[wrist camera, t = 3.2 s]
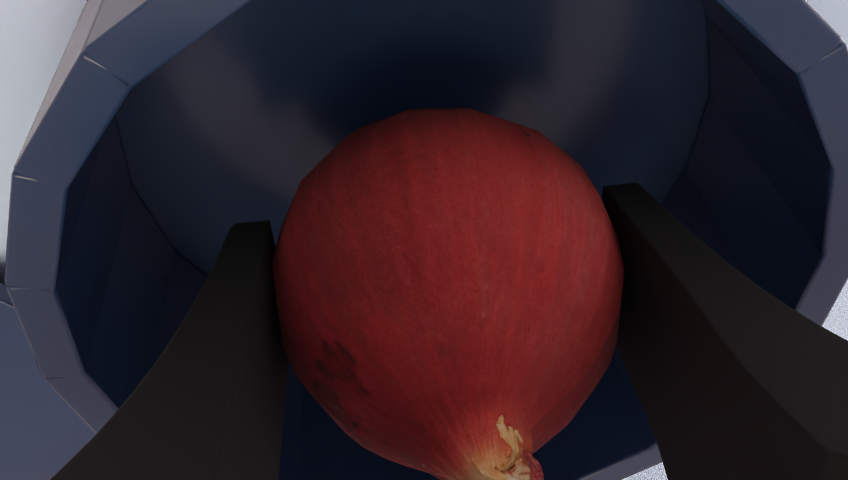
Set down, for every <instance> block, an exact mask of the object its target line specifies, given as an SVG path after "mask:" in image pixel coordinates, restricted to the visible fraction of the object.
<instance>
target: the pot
mask: <svg viewBox="0 0 848 480" xmlns="http://www.w3.org/2000/svg"><path fill="white" fill-rule="evenodd" d="M420 108H469V109H473V110H477V111H480V112H483V113H486V114H489V115H492V116H496V117H499V118H502V119H505V120H508V121H511V122H514V123H518V124H520V125H523V126H526V127H529V128H531V129H534V130H537V131H539V132H540V133H542V134H543V135H544V136H545V137H547V138H548V139H549V140H550V141H552V142H553V143H554V144H555V145H556V146H558V147H559V148H560V149H561V150H563V151H564V152H565V153H566V154H568V155H569V156H570V157H571V158H573V159H574V160H575V161H576V162H578V163H579V164H580V165H581V166H582V168H583V169H584V171H585V172H586V174H587V176H588V177H589V179H590V180H591V182H592V184H593V185H594V187H595V188H596V190H597V192H598V193H599V195H600V198H601V199H602V192H603V186H607V185H617V184H627V183H638V184H639V185H640V186H641V187H643V188H644V189H645V190H646V191H647V192H648V193H649V194H650V195H651V196H652V197H653V198H655V199H656V200H657V201H658V202H659V203H660V204H661V205H662V206H663V207H664V208H666V209H667V210H668V211H669V212H670V213H671V214H672V215H673V216H674V217H675V218H677V219H678V220H679V221H680V222H681V223H682V224H683V225H684V226H685V227H687V228H688V229H689V230H690V231H691V232H692V233H693V234H694V235H696V236H697V237H698V238H699V239H700V240H701V241H703V242H704V243H705V244H706V245H707V246H708V247H710V248H711V249H712V250H713V251H714V252H716V253H717V254H718V255H719V256H720V257H722V258H723V259H724V260H725V261H727V262H728V263H729V264H731V265H732V266H733V267H734V268H736V269H737V270H738V271H740V272H741V273H742V274H744V275H745V276H746V277H748V278H749V279H750V280H752V281H753V282H754V283H756V284H757V285H758V286H760V287H761V288H762V289H764V290H765V291H767V292H768V293H770V294H771V295H772V296H774V297H775V298H777V299H778V300H780V301H781V302H783V303H785V304H786V305H788V306H789V307H791V308H792V309H794V310H796V311H797V312H799V313H800V314H802V315H803V316H805V317H806V318H808V319H810V320H811V321H813V322H815V323H816V324H818V325H820V326H822V325H823V323H824V321H825V320H826V318H827V316H828V314H829V312H830V310H831V309H832V307H833V305H834V303H835V301H836V299H837V298H838V296H839V294H840V292H841V290H842V288H843V287H844V285H845V283H846V281H847V279H848V50H847V47H846V44H845V43H844V42H843V41H842V40H841V38H840V36H839V35H838V34H837V33H836V32H835V31H834V30H833V29H832V28H831V27H830V26H829V25H828V24H827V23H826V22H825V21H824V20H823V18H822V17H821V16H820V15H819V14H818V13H817V12H816V11H815V10H814V9H813V8H812V7H811V6H810V5H809V4H808V3H807V2H806V1H805V0H87V2H86V4H85V6H84V9H83V11H82V13H81V16H80V18H79V20H78V22H77V25H76V27H75V29H74V32H73V34H72V36H71V38H70V41H69V43H68V45H67V47H66V50H65V52H64V54H63V57H62V59H61V61H60V63H59V66H58V68H57V70H56V72H55V75H54V77H53V79H52V82H51V84H50V86H49V88H48V91H47V93H46V95H45V97H44V100H43V102H42V104H41V107H40V109H39V111H38V113H37V116H36V118H35V120H34V122H33V125H32V127H31V129H30V132H29V134H28V136H27V138H26V141H25V143H24V145H23V147H22V150H21V152H20V154H19V157H18V159H17V161H16V163H15V166H14V170H13V172H12V177H11V192H10V206H9V220H8V235H7V249H6V264H5V278H4V282H5V285H6V289H7V292H8V294H9V297H10V299H11V301H12V304H13V306H14V309H15V311H16V314H17V316H18V319H19V321H20V324H21V326H22V328H23V331H24V333H25V336H26V338H27V341H28V343H29V346H30V348H31V350H32V353H33V355H34V358H35V360H36V363H37V365H38V368H39V370H40V373H41V375H42V377H44V378H45V381H46V383H47V384H48V385H49V386H50V387H51V388H52V389H53V390H54V391H55V392H56V393H57V394H58V395H59V396H60V397H61V398H62V399H63V400H64V401H65V402H66V403H67V404H68V405H69V406H70V407H71V408H72V409H73V410H74V411H75V412H76V414H77V415H78V416H79V417H80V418H81V419H82V420H83V421H84V422H85V423H86V424H87V425H88V426H89V427H90V428H91V429H92V430H93V431H94V432H95V433H96V434H97V433H98V432H99V430H100V429H101V428H102V427H103V426H104V425H105V424H106V423H107V422H108V420H109V419H110V418H111V417H112V416H113V415H114V413H115V412H116V411H117V410H118V409H119V408H120V406H121V405H122V404H123V403H124V402H125V401H126V400H127V398H128V397H129V396H130V395H131V394H132V392H133V391H134V390H135V388H136V387H137V386H138V385H139V383H140V382H141V381H142V379H143V378H144V377H145V376H146V374H147V373H148V372H149V370H150V369H151V367H152V366H153V365H154V363H155V362H156V361H157V359H158V358H159V356H160V355H161V353H162V352H163V351H164V349H165V347H166V346H167V344H168V343H169V341H170V340H171V338H172V337H173V335H174V333H175V332H176V330H177V329H178V327H179V326H180V324H181V323H182V321H183V319H184V318H185V316H186V314H187V313H188V311H189V309H190V308H191V306H192V304H193V302H194V300H195V299H196V297H197V295H198V293H199V291H200V290H201V288H202V286H203V284H204V282H205V281H206V279H207V277H208V275H209V273H210V271H211V269H212V267H213V265H214V263H215V261H216V259H217V256H218V254H219V252H220V250H221V248H222V245H223V243H224V241H225V239H226V236H227V234H228V231H229V229H230V228H231V227H232V226H233V225H234V224H235V223H245V222H255V221H265V220H270V223H271V228H272V233H273V237H274V242H275V247H276V244H277V240H278V237H279V233H280V229H281V226H282V224H283V221H284V219H285V217H286V214H287V212H288V210H289V207H290V205H291V203H292V200H293V198H294V196H295V193H296V191H297V189H298V186H299V184H300V181H301V180H302V179H303V178H304V177H305V176H306V175H307V174H308V173H309V172H310V171H311V170H312V169H313V168H314V167H315V166H316V165H317V164H318V163H319V162H320V161H321V160H322V159H323V158H324V157H325V156H326V155H327V154H329V153H330V152H331V151H332V150H333V149H334V148H335V147H336V146H337V145H338V144H339V143H340V142H341V141H342V140H343V139H345V138H346V137H347V136H349V135H350V134H351V133H353V132H354V131H355V130H357V129H358V128H359V127H362V126H365V125H367V124H370V123H373V122H376V121H378V120H381V119H384V118H387V117H389V116H392V115H395V114H397V113H400V112H403V111H406V110H408V109H420ZM532 457H534V458H535V459H536V460H538V462H539V464H540V465H541V468H542V470H543V477H544V480H622V479H624V478H626V477H629V476H631V475H633V474H636V473H638V472H640V471H643V470H645V469H647V468H650V467H652V466H654V465H657V464H659V463H661V462H663V461H662V458H661V455H660V452H659V448H658V445H657V442H656V439H655V436H654V434H653V431H652V428H651V426H650V423H649V420H648V418H647V415H646V413H645V411H644V409H643V406H642V404H641V402H640V399H639V397H638V395H637V392H636V390H635V388H634V385H633V383H632V381H631V378H630V376H629V374H628V371H627V369H626V367H625V364H624V362H623V360H622V357H621V355H620V353H619V350H618V348H617V345H616V346H615V349H614V353H613V356H612V359H611V362H610V365H609V366H608V368H607V370H606V371H605V373H604V375H603V376H602V378H601V380H600V381H599V383H598V384H597V386H596V387H595V388H594V390H593V391H592V393H591V394H590V395H589V397H588V398H587V399H586V401H585V402H584V404H583V405H582V406H581V408H580V409H579V410H578V412H577V413H576V415H575V416H574V417H573V419H572V420H571V421H570V423H569V424H568V425H567V426H566V427H565V428H563V429H562V430H561V431H560V432H559V433H558V434H556V435H555V436H554V437H553V438H552V439H550V440H549V441H548V442H547V443H545V444H544V445H543V446H542V447H541V448H539V449H538V450H537V451H536V452H534V453H532ZM279 480H440V479H438V478H436V477H435V476H433V475H431V474H430V473H427V472H423V471H420V470H417V469H413V468H410V467H406V466H403V465H401V464H398V463H395V462H393V461H390V460H388V459H385V458H383V457H381V456H379V455H377V454H375V453H373V452H371V451H370V450H368V449H366V448H364V447H362V446H361V445H360V444H359V443H357V442H356V441H355V440H354V439H352V438H351V437H350V436H349V435H347V434H346V433H345V432H344V431H343V430H342V429H341V428H340V427H339V425H338V424H337V423H336V422H335V421H334V420H333V419H332V418H331V416H330V415H329V414H328V413H327V412H326V411H325V410H324V409H323V407H322V406H321V405H320V404H319V403H318V402H317V401H316V400H315V398H314V397H313V396H312V395H311V394H310V392H309V391H308V390H307V389H306V388H305V386H304V385H303V384H302V383H301V381H300V380H299V379H298V378H297V377H296V375H295V373H294V371H293V369H292V366H291V364H290V362H288V374H287V386H286V397H285V408H284V419H283V431H282V442H281V453H280V465H279Z"/></svg>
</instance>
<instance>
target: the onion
mask: <svg viewBox="0 0 848 480" xmlns="http://www.w3.org/2000/svg"><path fill="white" fill-rule="evenodd" d="M272 271H273V278H274V286H275V293H276V301H277V309H278V316H279V324H280V331H281V338H282V346H283V349H284V351H285V353H286V355H287V358H288V360H289V362H290V364H291V366H292V369H293V371H294V373H295V375H296V377H297V378H298V379H299V380H300V381H301V383H302V384H303V385H304V386H305V388H306V389H307V390H308V391H309V392H310V394H311V395H312V396H313V397H314V398H315V400H316V401H317V402H318V403H319V404H320V405H321V406H322V407H323V409H324V410H325V411H326V412H327V413H328V414H329V415H330V416H331V418H332V419H333V420H334V421H335V422H336V423H337V424H338V425H339V427H340V428H341V429H342V430H343V431H344V432H345V433H346V434H347V435H349V436H350V437H351V438H352V439H354V440H355V441H356V442H357V443H359V444H360V445H361V446H362V447H364V448H366V449H368V450H370V451H371V452H373V453H375V454H377V455H379V456H381V457H383V458H385V459H388V460H390V461H393V462H395V463H398V464H401V465H403V466H406V467H410V468H413V469H417V470H420V471H423V472H427V473H430V474H431V475H433V476H435V477H436V478H438V479H440V480H544V477H543V470H542V468H541V465H540V464H539V462H538V460H536V459H535V458H534V457H532V453H534V452H536V451H537V450H538V449H539V448H541V447H542V446H543V445H544V444H545V443H547V442H548V441H549V440H550V439H552V438H553V437H554V436H555V435H556V434H558V433H559V432H560V431H561V430H562V429H563V428H565V427H566V426H567V425H568V424H569V423H570V421H571V420H572V419H573V417H574V416H575V415H576V413H577V412H578V410H579V409H580V408H581V406H582V405H583V404H584V402H585V401H586V399H587V398H588V397H589V395H590V394H591V393H592V391H593V390H594V388H595V387H596V386H597V384H598V383H599V381H600V380H601V378H602V376H603V375H604V373H605V371H606V370H607V368H608V366H609V365H610V362H611V359H612V356H613V353H614V349H615V346H616V343H617V338H618V329H619V319H620V310H621V300H622V291H623V281H624V272H625V270H624V265H623V260H622V254H621V249H620V244H619V241H618V237H617V234H616V231H615V229H614V227H613V225H612V222H611V220H610V218H609V216H608V213H607V211H606V209H605V207H604V204H603V202H602V200H601V198H600V195H599V193H598V192H597V190H596V188H595V187H594V185H593V184H592V182H591V180H590V179H589V177H588V176H587V174H586V172H585V171H584V169H583V168H582V166H581V165H580V164H579V163H578V162H576V161H575V160H574V159H573V158H571V157H570V156H569V155H568V154H566V153H565V152H564V151H563V150H561V149H560V148H559V147H558V146H556V145H555V144H554V143H553V142H552V141H550V140H549V139H548V138H547V137H545V136H544V135H543V134H542V133H540V132H539V131H537V130H534V129H531V128H529V127H526V126H523V125H520V124H518V123H514V122H511V121H508V120H505V119H502V118H499V117H496V116H492V115H489V114H486V113H483V112H480V111H477V110H473V109H469V108H420V109H408V110H406V111H403V112H400V113H397V114H395V115H392V116H389V117H387V118H384V119H381V120H378V121H376V122H373V123H370V124H367V125H365V126H362V127H359V128H358V129H357V130H355V131H354V132H353V133H351V134H350V135H349V136H347V137H346V138H345V139H343V140H342V141H341V142H340V143H339V144H338V145H337V146H336V147H335V148H334V149H333V150H332V151H331V152H330V153H329V154H327V155H326V156H325V157H324V158H323V159H322V160H321V161H320V162H319V163H318V164H317V165H316V166H315V167H314V168H313V169H312V170H311V171H310V172H309V173H308V174H307V175H306V176H305V177H304V178H303V179H302V180H301V181H300V184H299V186H298V189H297V191H296V193H295V196H294V198H293V200H292V203H291V205H290V207H289V210H288V212H287V214H286V217H285V219H284V221H283V224H282V226H281V229H280V233H279V237H278V240H277V244H276V248H275V252H274V256H273V259H272Z"/></svg>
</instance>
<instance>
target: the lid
mask: <svg viewBox="0 0 848 480" xmlns="http://www.w3.org/2000/svg"><path fill="white" fill-rule="evenodd" d="M95 435H96V433H95V432H94V431H93V430H92V429H91V428H90V427H89V426H88V425H87V424H86V423H85V422H84V421H83V420H82V419H81V418H80V417H79V416H78V415H77V414H76V412H75V411H74V410H73V409H72V408H71V407H70V406H69V405H68V404H67V403H66V402H65V401H64V400H63V399H62V398H61V397H60V396H59V395H58V394H57V393H56V392H55V391H54V390H53V389H52V388H51V387H50V386H49V385H48V384H47V383H46V381H45V378H44V377H42V375H41V373H40V370H39V368H38V365H37V363H36V360H35V358H34V355H33V353H32V350H31V348H30V346H29V343H28V341H27V338H26V336H25V333H24V331H23V328H22V326H21V324H20V321H19V319H18V316H17V314H16V311H15V309H14V306H13V304H12V301H11V299H10V297H9V294H8V292H7V289H6V285H4V284H2V283H0V480H50V479H51V478H52V477H53V476H54V475H55V474H56V473H57V472H58V471H59V470H60V469H61V468H63V467H64V466H65V465H66V464H67V463H68V462H69V461H70V460H71V459H72V458H73V457H74V456H75V455H76V454H77V453H78V452H79V451H80V450H81V449H82V448H83V447H84V446H85V445H86V444H87V443H88V442H89V441H90V440H91V439H92V438H93V437H94V436H95Z"/></svg>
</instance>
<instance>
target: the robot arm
mask: <svg viewBox="0 0 848 480" xmlns="http://www.w3.org/2000/svg"><path fill="white" fill-rule="evenodd" d="M601 200H602V202H603V204H604V207H605V209H606V211H607V213H608V216H609V218H610V220H611V222H612V225H613V227H614V229H615V231H616V234H617V237H618V241H619V244H620V249H621V254H622V260H623V265H624V270H625V272H624V281H623V291H622V300H621V310H620V319H619V329H618V338H617V343H616V345H617V348H618V350H619V353H620V355H621V357H622V360H623V362H624V364H625V367H626V369H627V371H628V374H629V376H630V378H631V381H632V383H633V385H634V388H635V390H636V392H637V395H638V397H639V399H640V402H641V404H642V406H643V409H644V411H645V413H646V415H647V418H648V420H649V423H650V426H651V428H652V431H653V434H654V436H655V439H656V442H657V445H658V448H659V452H660V455H661V458H662V461H663V465H664V468H665V471H666V475H667V478H668V480H848V341H847V340H845V339H843V338H841V337H840V336H838V335H836V334H834V333H832V332H830V331H828V330H827V329H825V328H823V327H822V326H820V325H818V324H816V323H815V322H813V321H811V320H810V319H808V318H806V317H805V316H803V315H802V314H800V313H799V312H797V311H796V310H794V309H792V308H791V307H789V306H788V305H786V304H785V303H783V302H781V301H780V300H778V299H777V298H775V297H774V296H772V295H771V294H770V293H768V292H767V291H765V290H764V289H762V288H761V287H760V286H758V285H757V284H756V283H754V282H753V281H752V280H750V279H749V278H748V277H746V276H745V275H744V274H742V273H741V272H740V271H738V270H737V269H736V268H734V267H733V266H732V265H731V264H729V263H728V262H727V261H725V260H724V259H723V258H722V257H720V256H719V255H718V254H717V253H716V252H714V251H713V250H712V249H711V248H710V247H708V246H707V245H706V244H705V243H704V242H703V241H701V240H700V239H699V238H698V237H697V236H696V235H694V234H693V233H692V232H691V231H690V230H689V229H688V228H687V227H685V226H684V225H683V224H682V223H681V222H680V221H679V220H678V219H677V218H675V217H674V216H673V215H672V214H671V213H670V212H669V211H668V210H667V209H666V208H664V207H663V206H662V205H661V204H660V203H659V202H658V201H657V200H656V199H655V198H653V197H652V196H651V195H650V194H649V193H648V192H647V191H646V190H645V189H644V188H643V187H641V186H640V185H639V184H638V183H627V184H617V185H607V186H603V192H602V199H601ZM275 248H276V247H275V242H274V237H273V233H272V228H271V223H270V220H265V221H255V222H245V223H235V224H234V225H233V226H232V227H231V228H230V229H229V231H228V234H227V236H226V239H225V241H224V243H223V245H222V248H221V250H220V252H219V254H218V256H217V259H216V261H215V263H214V265H213V267H212V269H211V271H210V273H209V275H208V277H207V279H206V281H205V282H204V284H203V286H202V288H201V290H200V291H199V293H198V295H197V297H196V299H195V300H194V302H193V304H192V306H191V308H190V309H189V311H188V313H187V314H186V316H185V318H184V319H183V321H182V323H181V324H180V326H179V327H178V329H177V330H176V332H175V333H174V335H173V337H172V338H171V340H170V341H169V343H168V344H167V346H166V347H165V349H164V351H163V352H162V353H161V355H160V356H159V358H158V359H157V361H156V362H155V363H154V365H153V366H152V367H151V369H150V370H149V372H148V373H147V374H146V376H145V377H144V378H143V379H142V381H141V382H140V383H139V385H138V386H137V387H136V388H135V390H134V391H133V392H132V394H131V395H130V396H129V397H128V398H127V400H126V401H125V402H124V403H123V404H122V405H121V406H120V408H119V409H118V410H117V411H116V412H115V413H114V415H113V416H112V417H111V418H110V419H109V420H108V422H107V423H106V424H105V425H104V426H103V427H102V428H101V429H100V430H99V432H98V433H97V434H96V435H95V436H94V437H93V438H92V439H91V440H90V441H89V442H88V443H87V444H86V445H85V446H84V447H83V448H82V449H81V450H80V451H79V452H78V453H77V454H76V455H75V456H74V457H73V458H72V459H71V460H70V461H69V462H68V463H67V464H66V465H65V466H64V467H63V468H61V469H60V470H59V471H58V472H57V473H56V474H55V475H54V476H53V477H52V478H51V479H50V480H279V465H280V453H281V442H282V431H283V419H284V408H285V397H286V386H287V374H288V362H289V360H288V358H287V355H286V353H285V351H284V349H283V346H282V338H281V331H280V324H279V316H278V309H277V301H276V293H275V286H274V278H273V271H272V259H273V256H274V252H275Z"/></svg>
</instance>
